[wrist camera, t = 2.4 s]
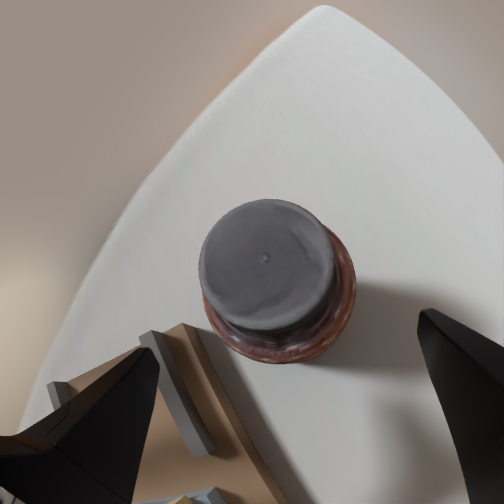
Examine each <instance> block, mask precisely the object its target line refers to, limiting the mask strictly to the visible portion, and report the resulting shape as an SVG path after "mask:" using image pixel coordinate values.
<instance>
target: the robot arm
mask: <svg viewBox="0 0 504 504" xmlns="http://www.w3.org/2000/svg"><path fill="white" fill-rule="evenodd" d="M417 335H418V339H419V342H420V345H421V349H422V352H423V355H424V359H425V362H426V366H427V369H428V372H429V375H430V378H431V381H432V383H433V386H434V388H435V391H436V393H437V396H438V399H439V401H440V404H441V407H442V409H443V412H444V415H445V418H446V420H447V423H448V426H449V429H450V432H451V435H452V438H453V441H454V445H455V448H456V451H457V454H458V458H459V461H460V465H461V468H462V472H463V476H464V479H465V484H466V488H467V492H468V496H469V501H470V504H504V347H502V346H501V345H499V344H497V343H495V342H494V341H492V340H490V339H488V338H487V337H485V336H483V335H481V334H479V333H478V332H476V331H474V330H472V329H470V328H469V327H467V326H465V325H463V324H461V323H459V322H458V321H456V320H454V319H452V318H450V317H448V316H447V315H445V314H443V313H441V312H439V311H437V310H435V309H433V308H428V309H424V310H421V311H420V314H419V321H418V328H417ZM159 374H160V365H159V362H158V360H157V358H156V357H155V355H154V353H153V351H152V349H151V348H150V347H139V348H137V349H136V350H135V351H133V352H132V353H131V354H129V355H128V356H127V357H126V358H124V359H123V360H122V361H120V362H119V363H118V364H116V365H115V366H114V367H112V368H111V369H110V370H109V371H107V372H106V373H105V374H103V375H102V376H101V377H99V378H98V379H97V380H95V381H94V382H93V383H91V384H90V385H89V386H87V387H86V388H85V389H83V390H82V391H81V392H80V393H78V394H77V395H76V396H74V397H73V398H72V399H70V401H68V402H66V403H65V404H64V405H62V406H61V407H60V408H58V409H57V410H55V411H54V412H53V413H51V414H50V415H48V416H46V417H45V418H43V419H42V420H40V421H39V422H37V423H36V424H34V425H32V426H31V427H29V428H28V429H26V430H24V431H23V432H21V433H19V434H16V435H13V436H0V504H132V500H133V495H134V490H135V485H136V481H137V476H138V472H139V467H140V463H141V458H142V454H143V450H144V446H145V442H146V437H147V433H148V429H149V425H150V422H151V418H152V414H153V410H154V405H155V400H156V393H157V386H158V380H159Z"/></svg>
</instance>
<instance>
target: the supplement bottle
mask: <svg viewBox="0 0 504 504" xmlns="http://www.w3.org/2000/svg"><path fill="white" fill-rule="evenodd" d="M198 270H199V279H200V284H201V288H202V295H203V303H204V308H205V312H206V314H207V317H208V319H209V322H210V323H211V325H212V327H213V329H214V331H215V332H216V333H217V335H218V336H219V337H220V338H221V339H222V341H223V342H225V343H226V344H227V345H228V346H229V347H230V348H232V349H233V350H234V351H236V352H238V353H239V354H241V355H243V356H245V357H247V358H250V359H252V360H255V361H258V362H263V363H268V364H290V363H297V362H302V361H306V360H309V359H311V358H314V357H316V356H318V355H319V354H321V353H322V352H324V351H325V350H326V349H327V348H328V347H329V346H330V345H331V344H332V343H333V342H334V341H335V340H336V339H337V338H338V336H339V335H340V334H341V333H342V331H343V330H344V328H345V326H346V325H347V323H348V321H349V318H350V316H351V312H352V309H353V306H354V302H355V296H356V276H355V270H354V266H353V263H352V260H351V258H350V256H349V253H348V251H347V249H346V248H345V246H344V245H343V243H342V242H341V241H340V239H339V238H338V237H337V236H336V235H335V234H334V233H333V232H332V231H331V230H330V229H329V228H327V227H326V226H325V225H323V224H322V223H321V222H320V221H319V220H318V219H317V218H316V217H315V216H314V215H313V214H311V213H310V212H309V211H307V210H306V209H304V208H302V207H301V206H299V205H296V204H294V203H291V202H287V201H283V200H278V199H261V200H256V201H252V202H248V203H245V204H243V205H241V206H238V207H236V208H235V209H233V210H231V211H230V212H228V213H227V214H226V215H224V216H223V217H222V218H221V219H220V220H219V221H218V222H217V223H216V224H215V225H214V226H213V228H212V229H211V231H210V232H209V233H208V235H207V237H206V238H205V241H204V243H203V246H202V249H201V253H200V259H199V268H198Z"/></svg>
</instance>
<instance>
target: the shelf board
mask: <svg viewBox="0 0 504 504" xmlns="http://www.w3.org/2000/svg"><path fill="white" fill-rule="evenodd" d="M139 339H140V342H141V345H139V346H137V347H135V348H133V349H132V350H130V351H128V352H126V353H124V354H122V355H120V356H118V357H116V358H114V359H112V360H110V361H108V362H106V363H104V364H102V365H100V366H98V367H96V368H94V369H92V370H90V371H88V372H86V373H84V374H82V375H80V376H78V377H76V378H74V379H72V380H70V381H68V382H54V381H53V382H51V383H49V384H47V388H48V392H49V395H50V398H51V402H52V405H53V408H54V411H55V410H57V409H58V408H60V407H61V406H62V405H64V404H65V403H66V402H68V401H70V399H72V398H73V397H74V396H76V395H77V394H78V393H80V392H81V391H82V390H83V389H85V388H86V387H87V386H89V385H90V384H91V383H93V382H94V381H95V380H97V379H98V378H99V377H101V376H102V375H103V374H105V373H106V372H107V371H109V370H110V369H111V368H112V367H114V366H115V365H116V364H118V363H119V362H120V361H122V360H123V359H124V358H126V357H127V356H128V355H129V354H131V353H132V352H133V351H135V350H136V349H137V348H139V347H150V348H151V349H152V351H153V353H154V355H155V357H156V358H157V360H158V362H159V365H160V374H159V380H158V386H157V393H156V400H155V405H154V410H153V414H152V418H151V422H150V425H149V429H148V433H147V437H146V442H145V446H144V450H143V454H142V458H141V463H140V467H139V472H138V476H137V481H136V485H135V490H134V495H133V500H132V504H290V503H289V501H288V500H287V498H286V497H285V495H284V494H283V492H282V491H281V489H280V487H279V486H278V484H277V483H276V481H275V479H274V478H273V476H272V475H271V473H270V471H269V470H268V468H267V466H266V465H265V463H264V461H263V460H262V458H261V456H260V455H259V453H258V451H257V449H256V448H255V446H254V444H253V442H252V441H251V439H250V437H249V435H248V434H247V432H246V430H245V428H244V426H243V425H242V423H241V421H240V419H239V417H238V415H237V413H236V412H235V410H234V408H233V406H232V404H231V402H230V400H229V398H228V396H227V394H226V392H225V390H224V388H223V386H222V384H221V382H220V380H219V378H218V376H217V374H216V372H215V370H214V368H213V366H212V364H211V362H210V360H209V358H208V356H207V354H206V351H205V349H204V347H203V345H202V343H201V341H200V339H199V336H198V334H197V332H196V330H195V327H193V326H190V325H187V324H184V323H181V324H179V325H177V326H175V327H173V328H172V329H170V330H168V331H166V332H164V333H161V332H157V331H153V330H150V331H149V332H147V333H145V334H143V335H141V336H139Z"/></svg>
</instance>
